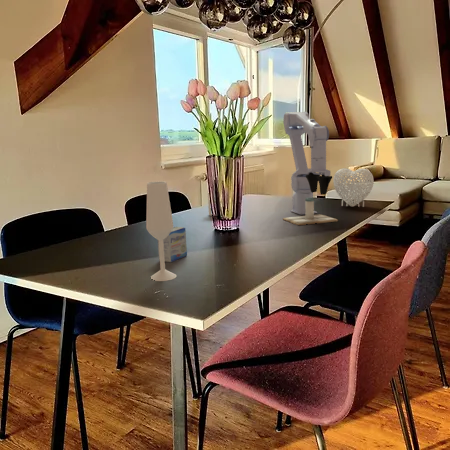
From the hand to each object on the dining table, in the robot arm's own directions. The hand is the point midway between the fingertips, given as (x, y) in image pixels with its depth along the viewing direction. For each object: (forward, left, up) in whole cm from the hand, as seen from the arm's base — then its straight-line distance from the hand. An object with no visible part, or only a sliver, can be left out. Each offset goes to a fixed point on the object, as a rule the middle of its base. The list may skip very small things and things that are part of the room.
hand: (318, 193), depth 177 cm
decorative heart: (-18, +28, -11) cm, 35 cm away
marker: (0, -4, -10) cm, 10 cm away
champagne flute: (+46, -71, -11) cm, 85 cm away
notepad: (0, -4, -10) cm, 11 cm away
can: (-30, -33, -11) cm, 46 cm away
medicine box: (+30, -65, -11) cm, 72 cm away
